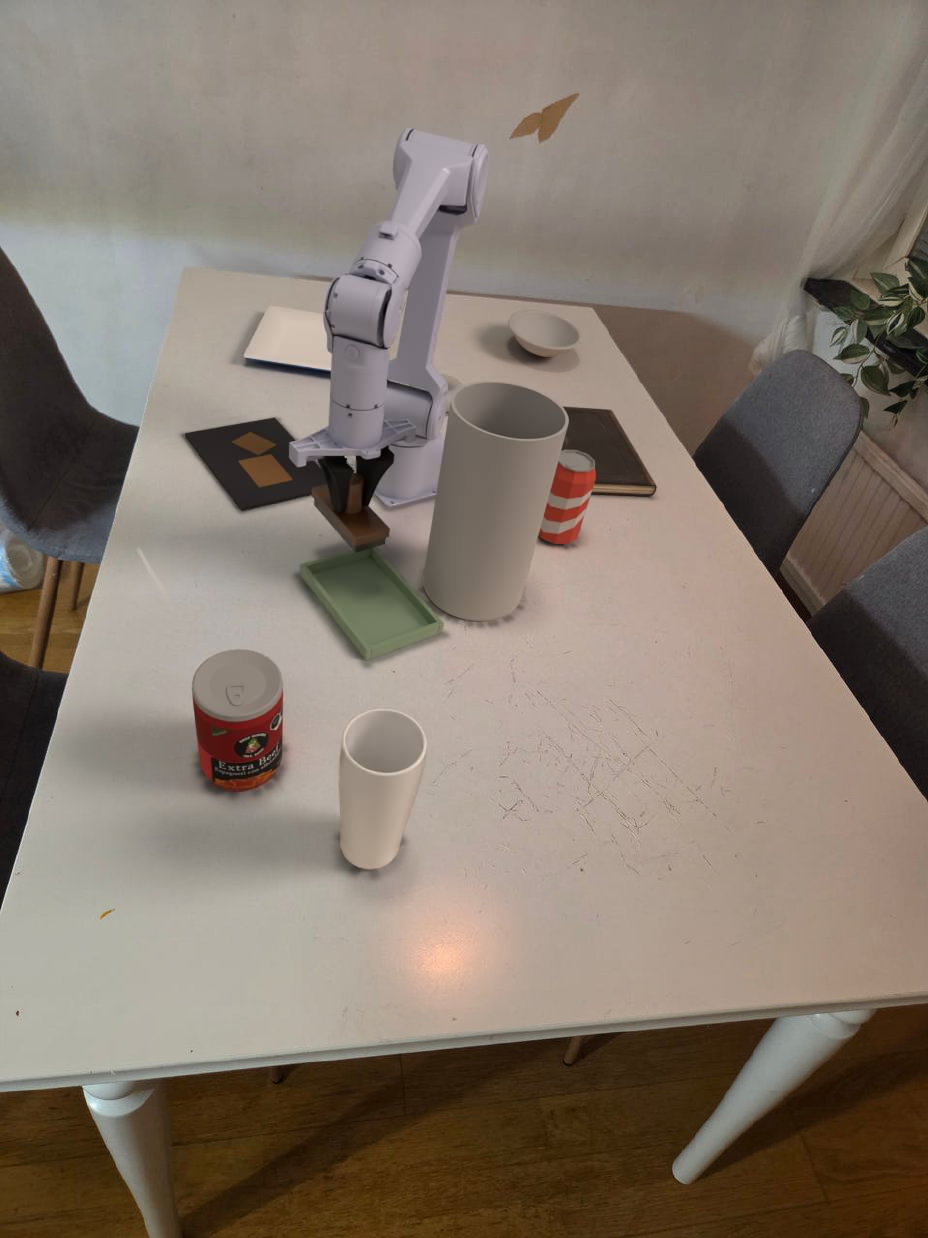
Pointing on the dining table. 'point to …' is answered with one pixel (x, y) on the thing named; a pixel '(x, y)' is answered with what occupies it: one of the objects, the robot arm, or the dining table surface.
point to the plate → (291, 339)
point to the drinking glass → (378, 784)
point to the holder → (370, 601)
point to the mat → (255, 462)
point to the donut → (449, 388)
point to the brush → (352, 517)
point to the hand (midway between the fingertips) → (350, 504)
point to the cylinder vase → (491, 497)
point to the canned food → (238, 718)
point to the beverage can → (568, 497)
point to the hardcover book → (607, 452)
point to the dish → (544, 332)
